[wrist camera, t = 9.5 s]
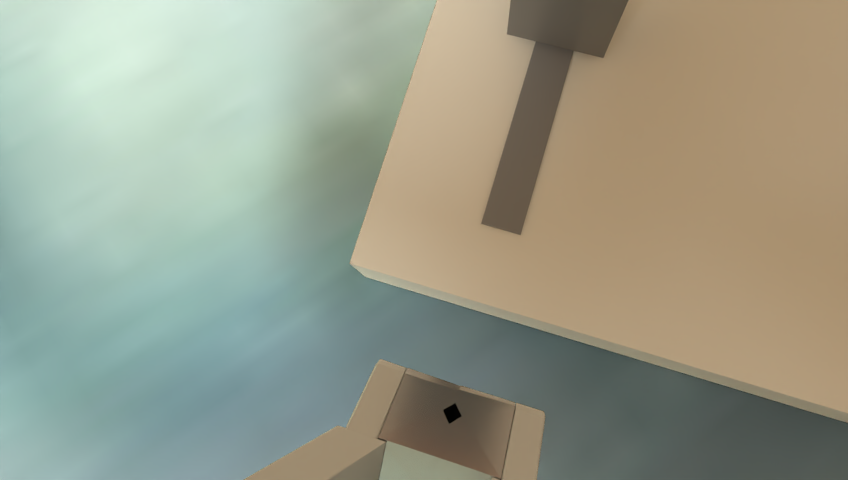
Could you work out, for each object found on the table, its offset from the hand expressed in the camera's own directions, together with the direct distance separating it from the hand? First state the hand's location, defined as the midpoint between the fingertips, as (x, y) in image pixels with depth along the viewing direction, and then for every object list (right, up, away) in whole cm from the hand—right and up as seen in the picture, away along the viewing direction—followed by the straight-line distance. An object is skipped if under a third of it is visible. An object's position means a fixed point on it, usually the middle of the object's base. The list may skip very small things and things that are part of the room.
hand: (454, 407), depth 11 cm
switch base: (+10, +5, +10) cm, 15 cm away
